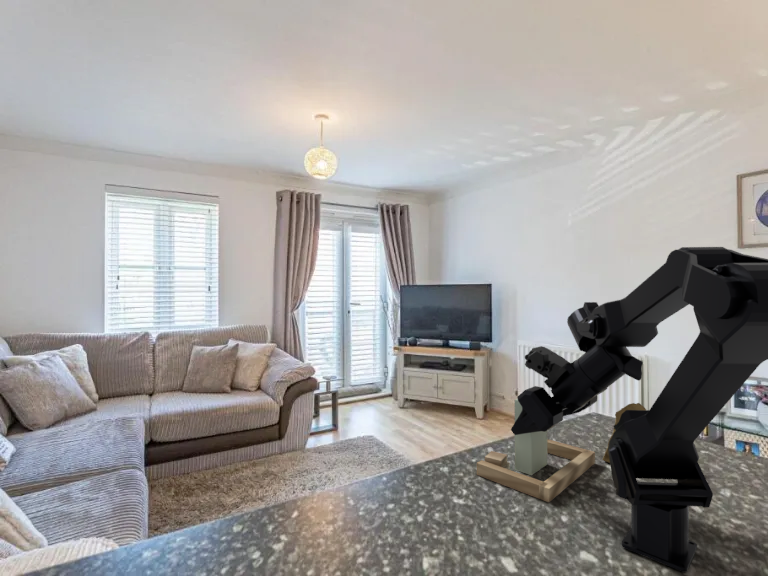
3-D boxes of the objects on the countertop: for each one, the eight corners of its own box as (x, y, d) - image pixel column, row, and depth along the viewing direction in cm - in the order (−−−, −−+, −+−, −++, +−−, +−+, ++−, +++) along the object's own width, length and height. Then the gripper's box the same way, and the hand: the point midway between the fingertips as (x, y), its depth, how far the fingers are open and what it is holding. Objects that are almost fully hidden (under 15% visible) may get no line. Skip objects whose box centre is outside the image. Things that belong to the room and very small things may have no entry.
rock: (623, 460, 69) (671, 447, 71) (595, 411, 73) (641, 399, 76) (590, 475, 77) (634, 462, 80) (567, 430, 82) (610, 419, 84)
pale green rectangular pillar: (531, 475, 68) (531, 403, 68) (514, 469, 71) (514, 399, 70) (547, 464, 73) (547, 396, 72) (531, 459, 75) (531, 393, 75)
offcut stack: (498, 476, 68) (498, 462, 68) (480, 469, 71) (480, 455, 70) (509, 469, 71) (509, 455, 71) (492, 463, 73) (492, 449, 73)
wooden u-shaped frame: (549, 502, 60) (549, 488, 60) (476, 474, 69) (476, 462, 69) (594, 463, 73) (594, 452, 73) (529, 444, 82) (529, 434, 82)
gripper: (579, 328, 75) (522, 378, 83) (529, 338, 62) (467, 397, 70) (627, 378, 69) (561, 427, 77) (584, 401, 56) (510, 457, 64)
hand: (526, 425), depth 72 cm, fingers open, 9 cm apart
